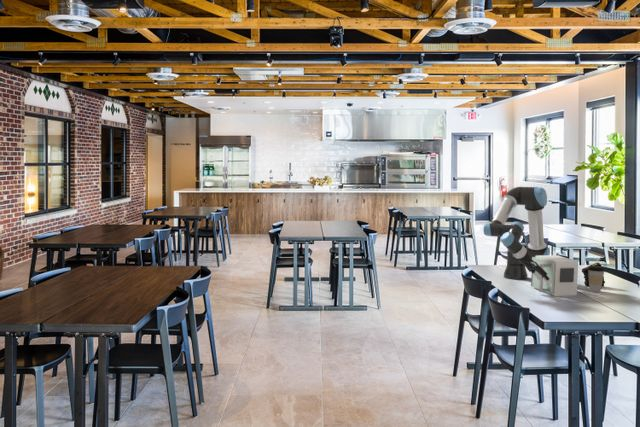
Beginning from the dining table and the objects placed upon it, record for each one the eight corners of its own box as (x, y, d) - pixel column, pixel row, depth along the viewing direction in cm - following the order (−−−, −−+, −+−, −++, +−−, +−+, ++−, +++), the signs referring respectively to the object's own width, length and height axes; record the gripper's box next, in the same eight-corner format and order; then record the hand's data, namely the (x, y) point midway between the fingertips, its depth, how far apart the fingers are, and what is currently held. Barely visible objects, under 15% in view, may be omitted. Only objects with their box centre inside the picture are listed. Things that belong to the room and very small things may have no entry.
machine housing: (533, 287, 342) (535, 255, 340) (555, 287, 344) (556, 255, 342) (554, 296, 319) (556, 261, 318) (577, 295, 321) (579, 261, 320)
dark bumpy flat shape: (610, 284, 345) (600, 263, 345) (589, 293, 347) (580, 271, 346) (607, 283, 349) (597, 262, 348) (587, 291, 350) (577, 270, 350)
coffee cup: (596, 293, 327) (598, 268, 326) (582, 290, 335) (583, 266, 334) (607, 292, 331) (608, 267, 330) (593, 289, 339) (594, 264, 338)
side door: (521, 286, 341) (523, 257, 340) (532, 285, 342) (534, 256, 341) (541, 294, 319) (543, 263, 317) (553, 294, 320) (555, 263, 318)
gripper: (508, 256, 329) (532, 282, 332) (527, 262, 307) (552, 290, 311) (516, 247, 329) (540, 273, 333) (536, 252, 308) (561, 280, 311)
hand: (546, 281), depth 322 cm, fingers open, 9 cm apart
